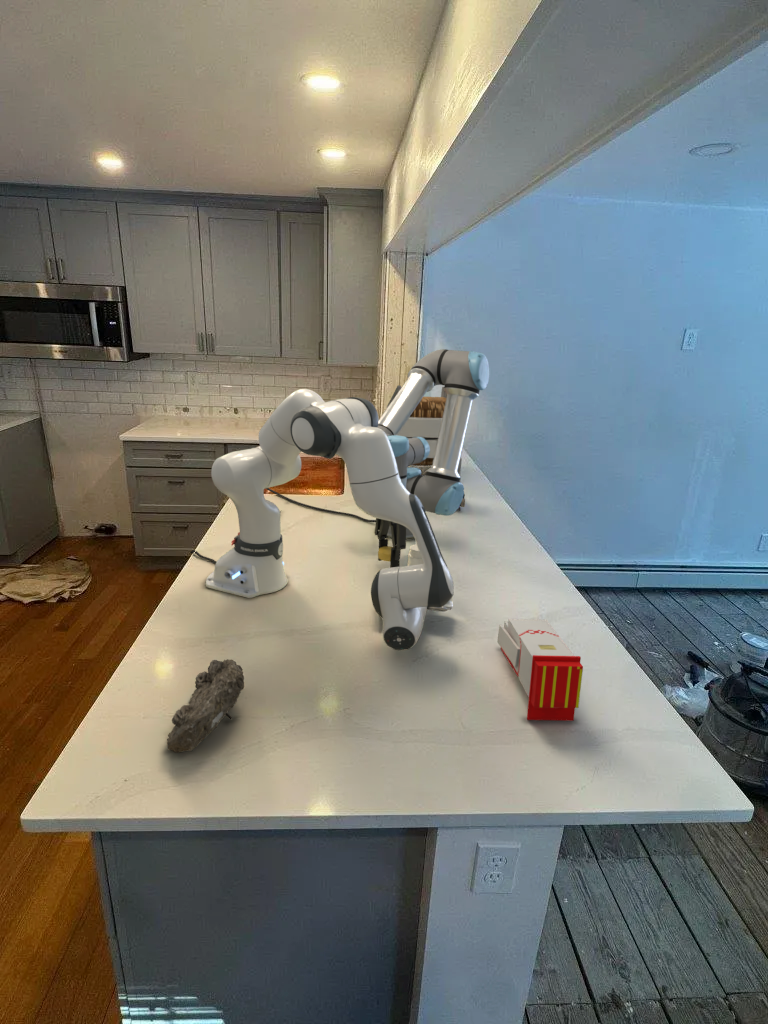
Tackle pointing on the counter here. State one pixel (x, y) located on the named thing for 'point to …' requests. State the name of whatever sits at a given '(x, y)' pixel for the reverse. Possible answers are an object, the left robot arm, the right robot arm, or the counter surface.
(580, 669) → the toy
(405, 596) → the left robot arm
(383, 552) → the lid
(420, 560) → the jar
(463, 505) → the figurine character
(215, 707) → the fossil
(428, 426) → the white slatted box
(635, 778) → the counter surface
